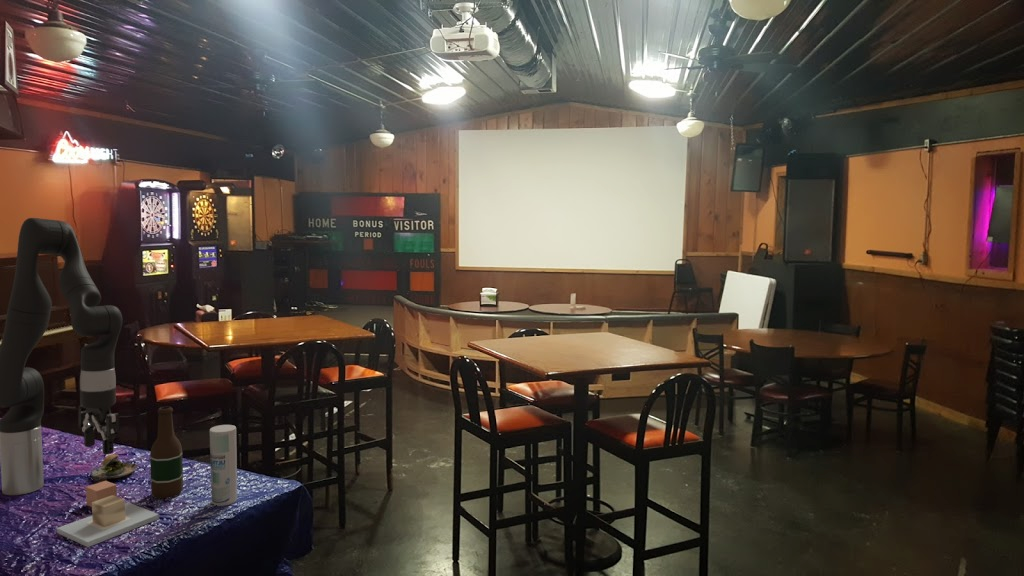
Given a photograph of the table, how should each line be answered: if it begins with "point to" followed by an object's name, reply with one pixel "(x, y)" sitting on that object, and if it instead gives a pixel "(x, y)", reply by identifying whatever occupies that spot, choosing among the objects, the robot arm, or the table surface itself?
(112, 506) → the maple block
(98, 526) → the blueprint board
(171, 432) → the beer bottle
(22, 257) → the robot arm
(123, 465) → the burger
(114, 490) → the terracotta block
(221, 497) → the spray can
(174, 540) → the table surface
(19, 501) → the table surface
